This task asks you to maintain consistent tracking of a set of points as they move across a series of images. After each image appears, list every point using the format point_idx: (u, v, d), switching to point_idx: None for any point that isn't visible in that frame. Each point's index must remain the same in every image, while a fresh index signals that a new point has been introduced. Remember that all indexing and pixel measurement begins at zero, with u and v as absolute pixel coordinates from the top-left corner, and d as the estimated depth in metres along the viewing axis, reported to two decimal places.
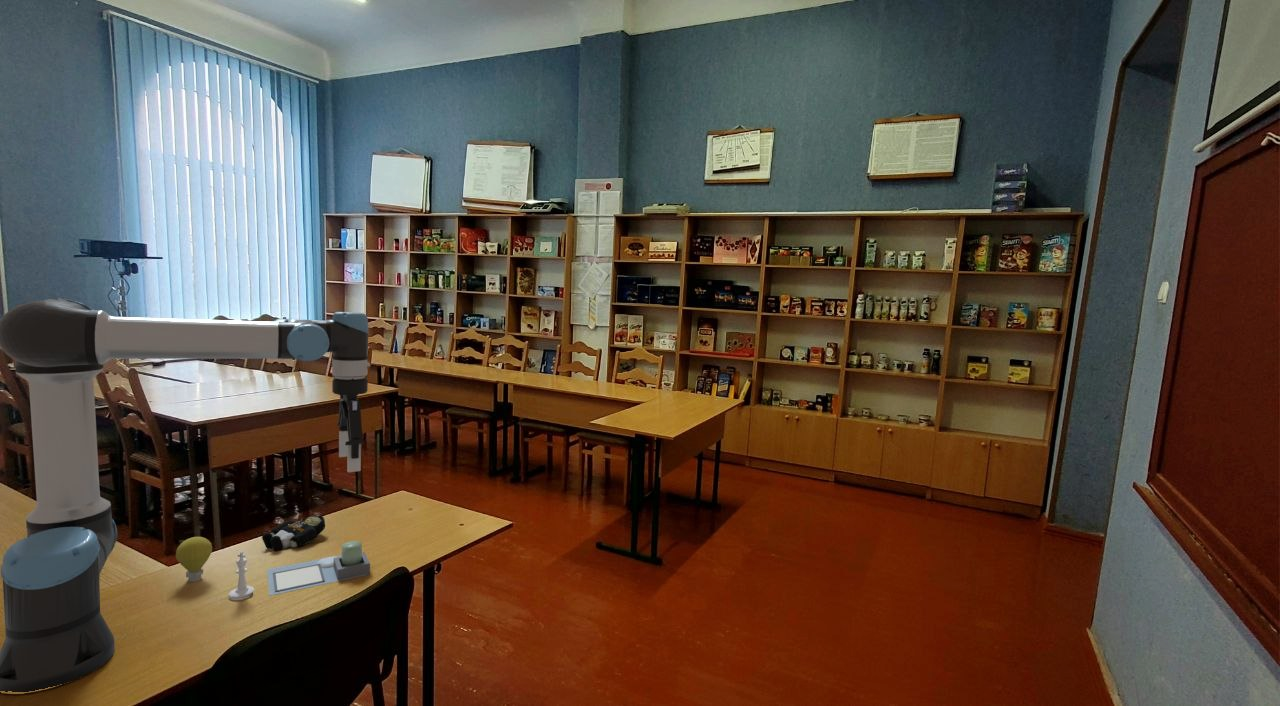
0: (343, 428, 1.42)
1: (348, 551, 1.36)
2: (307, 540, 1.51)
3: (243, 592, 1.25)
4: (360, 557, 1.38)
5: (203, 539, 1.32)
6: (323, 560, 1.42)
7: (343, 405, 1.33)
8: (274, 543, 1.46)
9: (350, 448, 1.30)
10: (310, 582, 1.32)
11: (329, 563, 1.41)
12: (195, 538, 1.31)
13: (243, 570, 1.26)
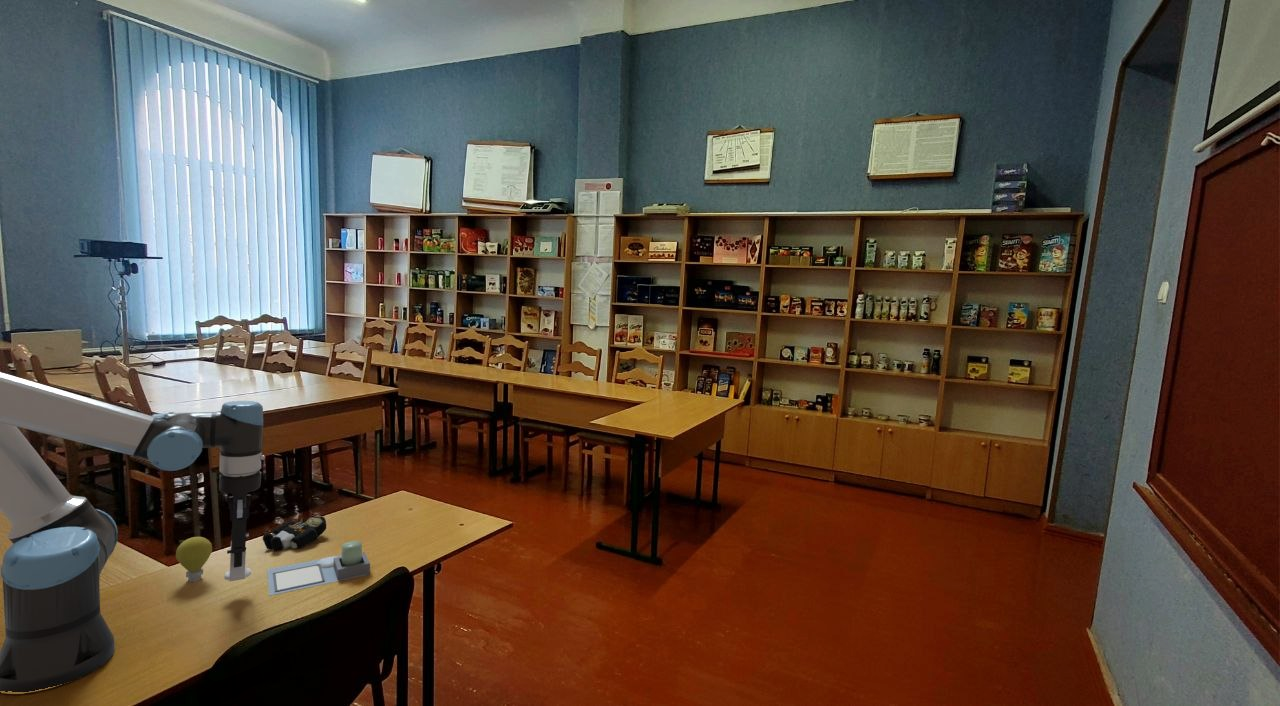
0: None
1: (348, 551, 1.36)
2: (307, 541, 1.50)
3: None
4: (360, 557, 1.38)
5: (203, 539, 1.32)
6: (323, 560, 1.42)
7: (230, 505, 1.22)
8: (274, 544, 1.45)
9: (233, 556, 1.22)
10: (310, 582, 1.32)
11: (329, 563, 1.41)
12: (195, 538, 1.31)
13: None
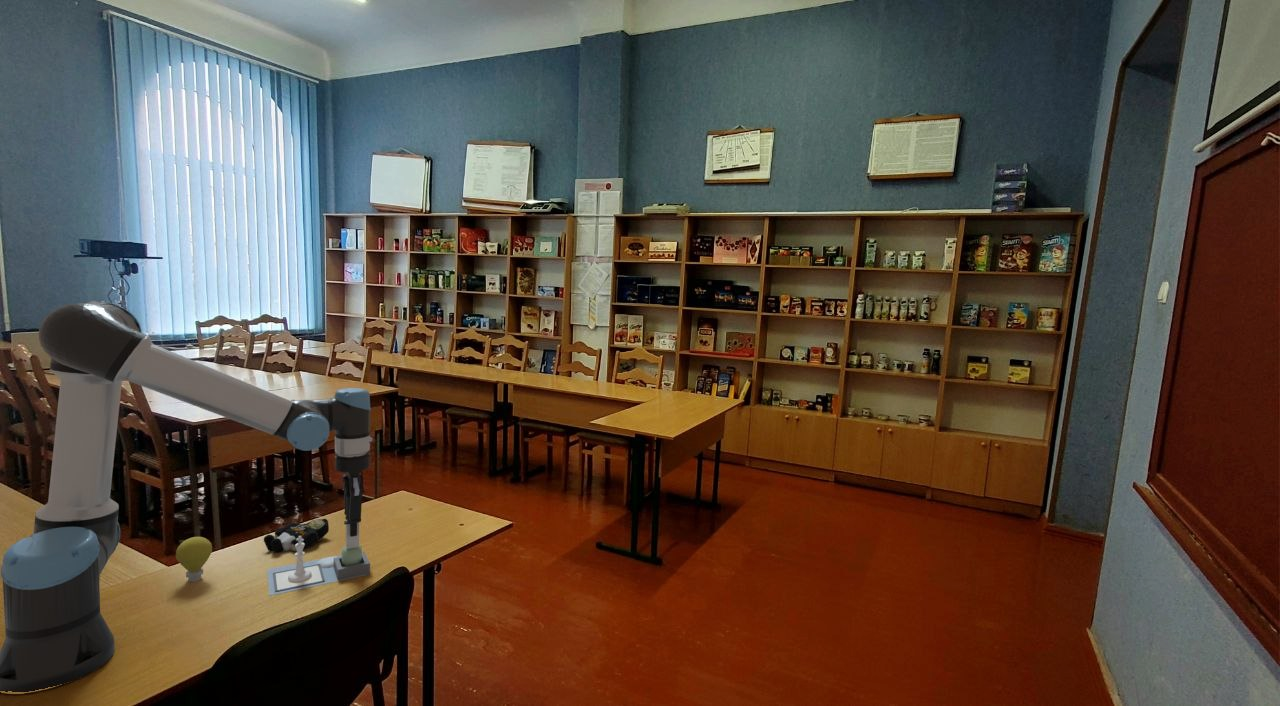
0: None
1: (347, 554, 1.36)
2: (308, 544, 1.49)
3: (301, 574, 1.33)
4: (360, 560, 1.38)
5: (203, 539, 1.32)
6: (323, 560, 1.42)
7: (346, 484, 1.34)
8: (274, 546, 1.44)
9: (349, 526, 1.36)
10: (310, 582, 1.32)
11: (329, 563, 1.41)
12: (195, 538, 1.31)
13: (301, 553, 1.33)
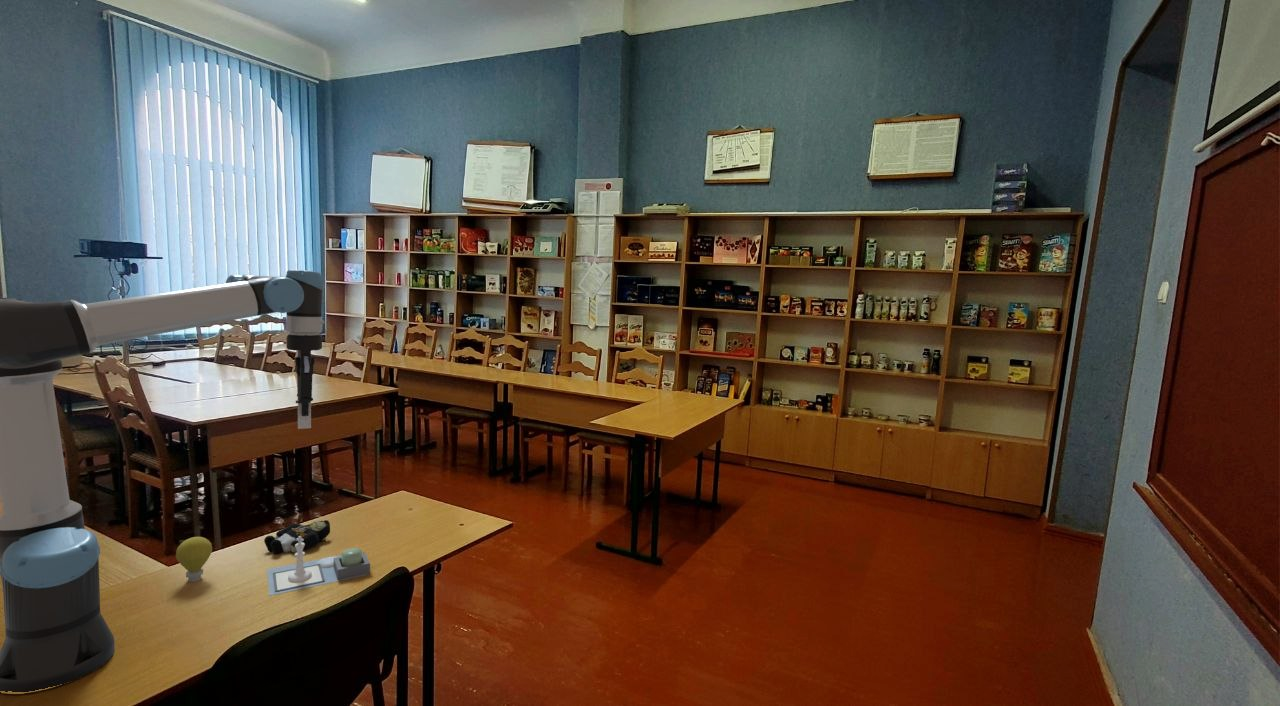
0: None
1: (347, 558, 1.36)
2: (307, 545, 1.48)
3: (301, 574, 1.33)
4: None
5: (203, 539, 1.32)
6: (323, 560, 1.42)
7: (297, 362, 1.37)
8: (273, 547, 1.44)
9: (300, 406, 1.39)
10: (310, 582, 1.32)
11: (329, 563, 1.41)
12: (195, 538, 1.31)
13: (301, 553, 1.33)
